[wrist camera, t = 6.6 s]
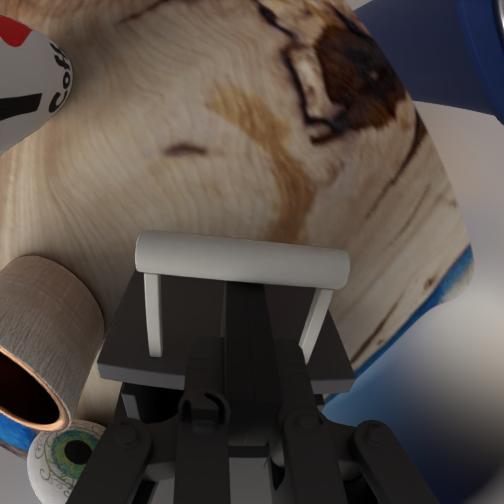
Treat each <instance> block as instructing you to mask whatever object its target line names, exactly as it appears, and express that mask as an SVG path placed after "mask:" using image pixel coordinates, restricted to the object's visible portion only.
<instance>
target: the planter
mask: <svg viewBox="0 0 504 504" xmlns="http://www.w3.org/2000/svg"><path fill="white" fill-rule="evenodd" d="M103 334H104V321H103V316H102V313H101V310H100V308H99V306H98V303H97V302H96V300H95V298H94V297H93V295H92V294H91V292H90V291H89V289H88V288H87V287H86V286H85V285H84V284H83V283H82V281H81V280H80V279H79V278H77V277H76V276H75V275H74V274H73V273H72V272H70V271H69V270H68V269H66V268H65V267H63V266H62V265H60V264H58V263H56V262H54V261H52V260H50V259H47V258H44V257H40V256H32V255H30V256H22V257H19V258H16V259H15V260H13V261H12V262H10V263H9V264H8V265H6V266H5V268H4V269H3V270H2V271H1V272H0V413H2V414H4V415H5V416H7V417H8V418H10V419H12V420H14V421H16V422H18V423H20V424H22V425H24V426H27V427H29V428H32V429H35V430H39V431H43V432H50V433H57V432H63V431H65V430H67V429H68V428H69V427H70V425H71V423H72V420H73V417H74V414H75V411H76V408H77V405H78V402H79V399H80V396H81V393H82V391H83V388H84V385H85V383H86V380H87V377H88V375H89V372H90V370H91V367H92V365H93V362H94V360H95V357H96V355H97V353H98V350H99V348H100V345H101V343H102V339H103Z"/></svg>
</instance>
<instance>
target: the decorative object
mask: <svg viewBox="0 0 504 504" xmlns="http://www.w3.org/2000/svg"><path fill="white" fill-rule="evenodd" d="M105 429H106V427H104V426H102V425H99V424H97V423H94V422H90V421H85V420H78V419H73V420H72V423H71V425H70V427H69V428H68V429H67V430H65V431H63V432H57V433H50V432H43V431H41V432H40V433H39V434H38V436H37V437H36V438H35V439H34V440H33V442H32V444H31V447H30V449H29V453H28V458H27V465H28V475H29V479H30V482H31V485H32V487H33V489H34V491H35V493H36V495H37V496H38V498H39V499H40V501H41V502H42V503H43V504H65V503H66V501H67V499H68V497H69V496H70V494H71V492H72V490H73V488H74V486H75V484H76V482H77V480H78V478H79V476H80V475H81V473H82V471H83V469H84V467H85V465H86V463H87V462H88V460H89V458H90V456H91V454H92V452H93V451H94V449H95V447H96V445H97V443H98V441H99V440H100V438H101V436H102V434H103V432H104V431H105Z"/></svg>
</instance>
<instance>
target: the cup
mask: <svg viewBox="0 0 504 504" xmlns="http://www.w3.org/2000/svg"><path fill="white" fill-rule="evenodd" d="M72 80H73V72H72V66H71V63H70V61H69V59H68V57H67V56H66V55H65V54H64V52H63V51H62V50H61V49H60V48H59V47H58V46H57V45H56V43H55V42H54V41H53V40H52V39H50V38H49V37H47V36H45V35H44V34H42V33H40V32H38V31H37V30H35V29H33V28H31V27H30V26H28V25H26V24H24V23H22V22H20V21H18V20H16V19H12V18H9V17H6V16H2V15H0V155H1V154H3V153H4V152H6V151H7V150H9V149H10V148H11V147H13V146H14V145H16V144H17V143H19V142H20V141H22V140H23V139H24V138H26V137H28V136H29V135H31V134H32V133H34V132H35V131H37V130H38V129H39V128H41V127H42V126H43V125H44V124H45V123H46V122H47V121H48V120H49V119H50V118H51V117H52V116H53V115H54V114H55V113H56V112H57V111H58V110H59V109H60V108H61V107H62V106H63V105H64V103H65V101H66V100H67V98H68V96H69V93H70V90H71V87H72Z"/></svg>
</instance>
